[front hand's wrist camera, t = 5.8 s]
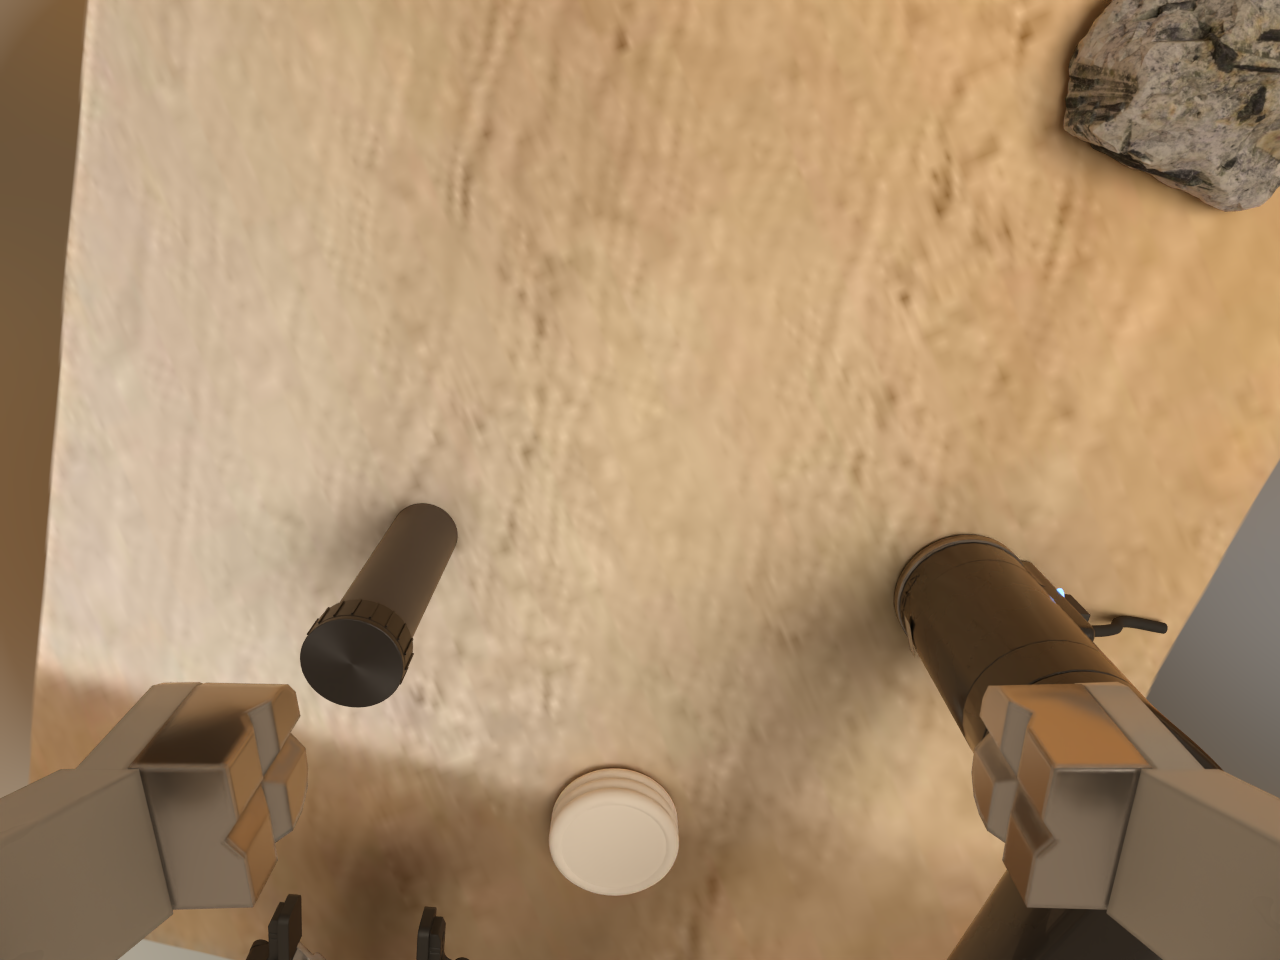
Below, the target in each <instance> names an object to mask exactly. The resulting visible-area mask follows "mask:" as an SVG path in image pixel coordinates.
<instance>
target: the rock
mask: <svg viewBox="0 0 1280 960" xmlns="http://www.w3.org/2000/svg"><path fill="white" fill-rule="evenodd" d="M1069 77H1070V80H1069V83H1068V95H1067V97H1066V99H1065V100H1066V107H1067V108H1066V112H1065V117H1064V130H1065V131H1067V132H1068V133H1070V134H1071V135H1072V136H1076V137H1077V138H1079V139H1080V140H1082V141H1086V142H1089V143H1090V144H1091V146H1092V148H1093V149H1096V150H1098V151H1100V152H1103V153H1105V154H1107V155H1109V156H1110V157H1112V158H1114V159H1115V160H1117V161H1118V162H1120V163H1121V164H1122V165H1125V166H1127V167H1129V168H1131V169H1136V170H1141V171H1144V172H1146V173H1148V174H1150V175H1152V176H1153V177H1155V178H1156V179H1157V180H1159V181H1160V182H1162V183H1164V184H1166V185H1168V186H1170V187H1172V188H1177V189H1180V190H1183V191H1185V192H1187V193H1189V194H1191V195H1193V196H1195V197H1198V198H1200V200H1201V201H1203V202H1204V203H1206V204H1208V205H1211V206H1213V207H1214V208H1217V209H1219V210H1222V211H1225V212H1227V211H1242V210H1246V209H1250V208H1254V207H1258V206H1260V205H1262V204H1264V203H1265V202H1266V201H1267V200H1268V199H1269V198H1270V197H1271V196H1272V195H1273V193H1274V192H1275V190H1276V189H1277V188H1278V187H1279V186H1280V0H1112V1H1111V3H1110V4H1109V5H1108V6H1107V7H1106V8H1105V9H1104V11H1103V13H1101V14H1100V15H1099V16H1098V17H1097V18H1096V19H1095V21H1094V22H1093V24H1092V26H1091V28H1090V29H1089V31H1088V33H1087V35H1086V36H1085V37H1084V38H1083V39H1082V40H1081V41H1080V42H1079V43H1078V45H1077V47H1076V49H1075V52H1074V54H1073V56H1072V58H1071V60H1070V63H1069Z"/></svg>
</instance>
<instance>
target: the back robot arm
mask: <svg viewBox="0 0 1280 960" xmlns="http://www.w3.org/2000/svg"><path fill="white" fill-rule="evenodd" d="M894 607H895V612H896V616H897V618H898V621H899V623H900V624H901V626H902V628H903V630H904V632H905V633H906V635H907V636H908V639H909V645H910V650H911V652H912V653H913V655H914V657H915V654H914V648H913V645H914V647H915V649H916V651H917V653H918V655H919V656H920V658H921V660H922V662H923V664H924V665H925V667H926V669H927V671H928V673H929V674H930V676H931V678H932V680H933V682H934V683H935V685H936V687H937V689H938V691H939V692H940V694H941V696H942V698H943V700H944V701H945V703H946V705H947V707H948V709H949V710H950V712H951V714H952V716H953V718H954V719H955V721H956V723H957V725H958V727H959V728H960V730H961V732H962V734H963V736H964V737H965V739H966V741H967V743H968V744H969V746H970V748H971V750H972V751H973V753H974V748H975V747H976V746H977V745H978V744H979V743H980V742H981V741H982V740H983V739H984V738H985V737H986V736H987V735H988V734H989V731H988V729H987V728H986V726H985V724H984V723H983V721H982V719H981V717H980V711H981V705H982V699H983V696H984V694H985V692H986V690H987V688H988V686H998V685H1047V684H1075V683H1098V682H1119V683H1121V684H1124V685H1126V686H1128V687H1129V688H1130V689H1131V690H1132V691H1133V692H1134V693H1135V694H1136V695H1137V696H1138V697H1139V698H1140V699H1141V701H1142V702H1143V703H1144V704H1145V705H1146V706H1147V707H1148V708H1149V709H1150V710H1151V711H1152V712H1153V714H1154V715H1155V716H1156V717H1157V718H1158V719H1159V720H1160V721H1161V722H1162V723H1163V724H1164V725H1165V727H1166V728H1167V729H1168V730H1169V731H1170V732H1171V733H1172V734H1173V735H1174V736H1175V737H1176V739H1177V740H1178V741H1179V742H1180V743H1181V744H1182V745H1183V746H1184V747H1185V748H1186V749H1187V750H1188V752H1189V753H1190V754H1191V755H1192V756H1193V757H1194V758H1195V759H1196V760H1197V761H1198V762H1199V763H1200V765H1201V766H1202V767H1203V768H1204V769H1220V770H1222V769H1221V768H1220V767H1219V766H1218V765H1217V764H1216V763H1215V762H1214V761H1213V760H1212V759H1211V758H1210V757H1209V756H1208V755H1207V754H1206V753H1205V752H1204V751H1203V750H1202V749H1201V748H1200V747H1199V746H1198V745H1197V744H1196V743H1194V742H1193V741H1192V740H1191V739H1190V738H1189V737H1188V736H1186V735H1185V734H1184V733H1183V732H1182V731H1181V730H1179V729H1178V728H1177V727H1176V726H1175V725H1174V724H1172V723H1171V722H1170V721H1169V720H1168V719H1167V718H1166V717H1164V716H1163V715H1162V714H1161V713H1160V712H1159V711H1158V710H1157V709H1156V708H1155V707H1153V706H1152V705H1151V704H1150V703H1149V702H1148V701H1147V699H1146V698H1145V697H1144V696H1143V695H1142V694H1141V693H1140V692H1139V691H1138V690H1137V689H1136V688H1135V687H1134V686H1133V684H1132V683H1131V682H1130V681H1129V680H1128V679H1127V678H1126V677H1125V676H1124V675H1123V674H1122V673H1121V672H1120V670H1119V669H1118V668H1117V667H1116V666H1115V665H1114V664H1113V663H1112V662H1111V661H1110V660H1109V659H1108V658H1107V657H1106V656H1105V655H1104V653H1103V652H1102V651H1101V650H1100V649H1099V648H1098V647H1097V646H1096V645H1095V644H1094V643H1093V641H1094V637H1104V636H1111V635H1115V634H1118V633H1120V632H1121V630H1122V629H1123V627H1130V628H1137V629H1142V630H1147V631H1152V632H1157V633H1163V634H1164V633H1166V632H1167V624H1165V623H1162V622H1156V621H1151V620H1147V619H1142V618H1136V617H1128V616H1121V617H1117V618H1115V619H1113V621H1112V623H1111V624H1108V625H1095V626H1091V625H1090V624H1089V623H1088V620H1089V617H1090V614H1089V613H1088V612H1087V611H1086V610H1085V609H1084V608H1083V607H1082V606H1081V605H1080V604H1079V603H1078V602H1077V601H1076V600H1075V599H1074V598H1073V597H1072V596H1071V595H1068V594H1064V592H1063V590H1062V589H1061V588H1060V589H1056V588H1055V587H1054V586H1053V585H1052V584H1051V583H1050V582H1049V581H1048V580H1047V579H1046V578H1045V577H1044V576H1043V574H1042V573H1041V572H1040V571H1039V570H1038V569H1037V568H1036V567H1035V566H1034V565H1033V564H1032V563H1031V562H1025V561H1020V560H1019V559H1018V558H1017V557H1016V556H1015V554H1014V553H1013V552H1012V551H1011V550H1010V549H1008V548H1007V547H1006V546H1004V545H1003V544H1001V543H1000V542H998V541H996V540H993V539H991V538H988V537H984V536H978V535H958V536H952V537H948V538H945V539H942V540H939V541H937V542H935V543H933V544H931V545H929V546H927V547H926V548H924V549H923V550H921V551H920V552H919V553H918V554H916V555H915V556H914V557H913V558H912V559H911V560H910V561H909V563H908V564H907V565H906V567H905V568H904V570H903V571H902V573H901V575H900V577H899V579H898V582H897V585H896V588H895V594H894ZM1222 771H1223V770H1222ZM445 925H446V923H445V921H444V919H443V917H437V916H436V908H435V907H425V908H424V911H423V915H422V919H421V922H420V926H419V930H418V938H417V960H451V959H449V958H447V957H446V955H445V953H444V942H445ZM268 933H269V942H267V941H265V940H256V941H255V942H254V943H253V945H252V947H251V949H250V952H249V954H248V957H247V959H246V960H326V959H325V958H324V957H323V956H322V955H321V954H320V953H318V952H317V953H314V954H312V953H311V952H310V951H309V950H308V949H307V948H306V947H305V946H304V945H303V944H302V943H301V942H300V939H301V936H302V917H301V895H294V894H289V895H288V896H287V898H286V901H285V903H284V902H280V903H279V905H278V907H277V909H276V911H275V913H274V915H273V917H272V919H271V921H270V923H269V926H268ZM456 960H469V959H467V958H463V957H461V958H457V959H456ZM947 960H1163V959H1161V958H1160V957H1159V956H1158V955H1157V954H1155V953H1154V952H1153V951H1152V950H1150V949H1149V948H1148V947H1147V946H1146V945H1144V944H1143V943H1142V942H1141V941H1140V940H1138V939H1137V938H1136V937H1135V936H1133V935H1132V934H1131V933H1130V932H1129V931H1127V930H1126V929H1125V928H1124V927H1123V926H1121V925H1120V924H1119V923H1118V922H1116V921H1115V920H1114V919H1113V918H1112V917H1110V916H1109V915H1108V914H1107V910H1103V909H1068V908H1032V907H1026V905H1025V903H1024V901H1023V899H1022V897H1021V895H1020V893H1019V891H1018V889H1017V887H1016V886H1015V884H1014V882H1013V880H1012V878H1011V876H1010V874H1009V872H1008V870H1006V872H1005V873H1004V874H1003V876H1002V877H1001V879H1000V880H999V882H998V884H997V885H996V887H995V888H994V890H993V891H992V893H991V894H990V896H989V897H988V899H987V900H986V902H985V903H984V905H983V906H982V908H981V909H980V911H979V912H978V914H977V915H976V917H975V918H974V920H973V921H972V923H971V924H970V926H969V927H968V929H967V930H966V932H965V933H964V935H963V936H962V938H961V939H960V941H959V942H958V944H957V945H956V947H955V948H954V950H953V951H952V953H951V954H950V956H949V957H948V959H947Z"/></svg>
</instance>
